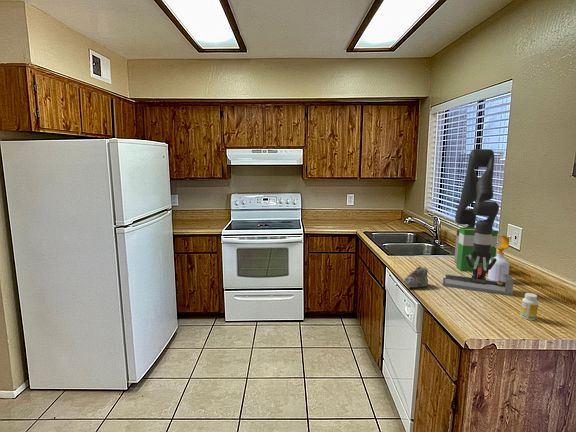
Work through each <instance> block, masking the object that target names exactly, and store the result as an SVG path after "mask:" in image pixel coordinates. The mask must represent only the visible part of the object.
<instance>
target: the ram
mask: <svg viewBox="0 0 576 432" xmlns="http://www.w3.org/2000/svg"><path fill="white" fill-rule="evenodd" d="M482 275H483V266H482V265H477V271H476V277H475V276H474V275H473V274H472V275H471V277H470V278H471V282H473V283H481V284H486V280H487V278H486V276H485V277H484V278H482Z"/></svg>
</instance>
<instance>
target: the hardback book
mask: <svg viewBox="0 0 576 432" xmlns="http://www.w3.org/2000/svg"><path fill="white" fill-rule="evenodd" d="M466 227H467V226H465V227H462V226H460V227H459V229H460V231H459V243H458V254H457V263H456V266H455V268H456V269H458V270H459V271H460V272H467V271H469V272H470V273H471V272H472V273H473V268H471V267H470V266H469V264H468V262H467V259H466V255H471V253H472V252H473V243H474V235H475V229H476V227H475V228H466ZM497 234H499V230H494V227H492V243H491V252H490V255H491V257H496V256H497V248H495V247H496V246H498V238H499V237H498V236H499V235H497ZM470 261H471V264H472V265H474V262H475V260H474V259H473V257H471V259H470ZM489 262H490V259H489V260H488V261H487V262H486V267H488V266H489ZM478 265H482V266H483V263H478ZM476 269H477V268H476ZM488 271H489V270H487V271H486V273H488Z"/></svg>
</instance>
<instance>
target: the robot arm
mask: <svg viewBox="0 0 576 432" xmlns="http://www.w3.org/2000/svg"><path fill="white" fill-rule="evenodd" d="M467 163H468V164H467V170H466V175H465V178H464V182H463V185H462V189H461V195H460V200H459V203H458V206H457V209H456V212H455V218H454V221H455V223H456V224H458V225H467V226H465V227H466V228H476V229H475V235H474V243H473V252H472V253H471V255H466V259H467V262H468V264H469V266H470V267H471V268H473V272H472V275H474V276H475V277H476V271H477V269H476V268H477V265H478V263H483V275H482V278H484V277H486V275H487V272H486V271H487V270H490V269H491V268H492V267H493V265H494V264H495V262H496V261H497V260H496V258H493V257H491V255H490V252H491V243H492V228H494V227H493V226H494V223H495V220H496V217H497V215H498V213H499V211H500V210H499V209H500V206H499V203H497V201H491V200H492V199H493V198H494V189H493V188H494V186H493V178H494V167H495V152H494V150H493V149H491V148H490V149H487V148H486V149H485V148H475V149H472V150H471V151H470V153H469V157H468V162H467ZM476 168H485V171H484V173H483V174H482V175H481V176H480V177H478V175H477V172H476V170H475V169H476ZM472 203H474V204H473V208H472V209H468V207H469V206H470V205H471V204H472ZM477 216H478V217H487V218H486V219H483V220H482V219H481V220H478V221H477ZM459 231H460V228H459V229H457V231H456V238H455V251H454V261H453V262H454V263H455V264H457V254H458V243H459ZM471 257H473V259H474V260H475V262H474V265H472V264H471V261H470V259H471ZM489 259H491V263H490V264H489V266H488V267H486V262H487V261H488V260H489Z"/></svg>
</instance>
